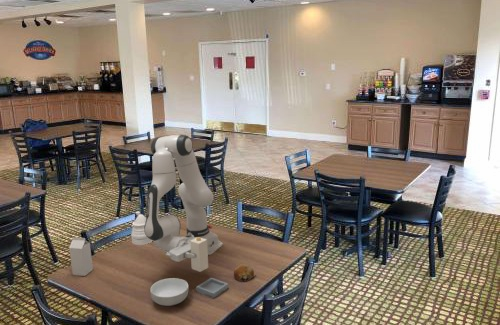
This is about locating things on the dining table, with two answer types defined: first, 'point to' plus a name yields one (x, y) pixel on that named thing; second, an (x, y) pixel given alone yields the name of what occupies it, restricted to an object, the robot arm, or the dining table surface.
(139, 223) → the honey pot
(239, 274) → the bread roll
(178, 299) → the cereal bowl
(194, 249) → the juice box
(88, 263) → the milk carton
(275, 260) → the dining table surface
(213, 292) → the tray
